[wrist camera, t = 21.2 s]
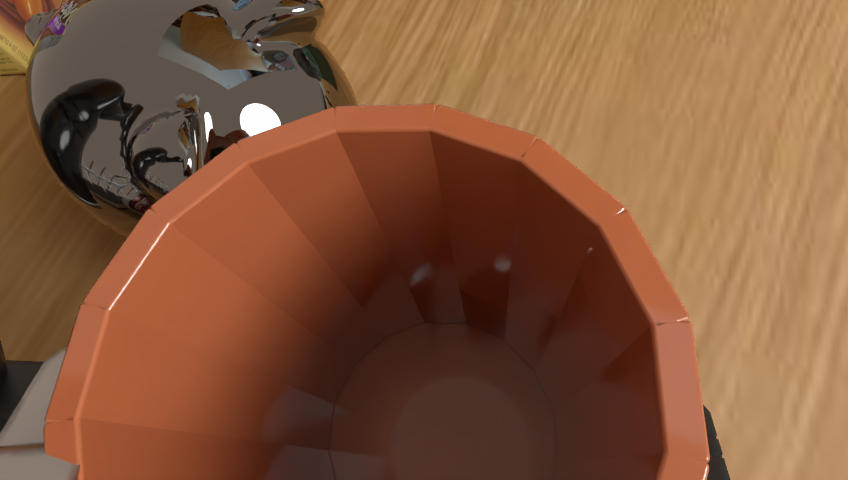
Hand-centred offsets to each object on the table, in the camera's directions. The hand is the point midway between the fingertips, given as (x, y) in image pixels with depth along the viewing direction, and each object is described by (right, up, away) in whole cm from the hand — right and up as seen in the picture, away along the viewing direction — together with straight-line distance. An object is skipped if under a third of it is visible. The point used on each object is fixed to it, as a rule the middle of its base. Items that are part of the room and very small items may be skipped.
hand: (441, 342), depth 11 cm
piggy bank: (-8, +4, +17) cm, 19 cm away
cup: (0, -3, +3) cm, 5 cm away
